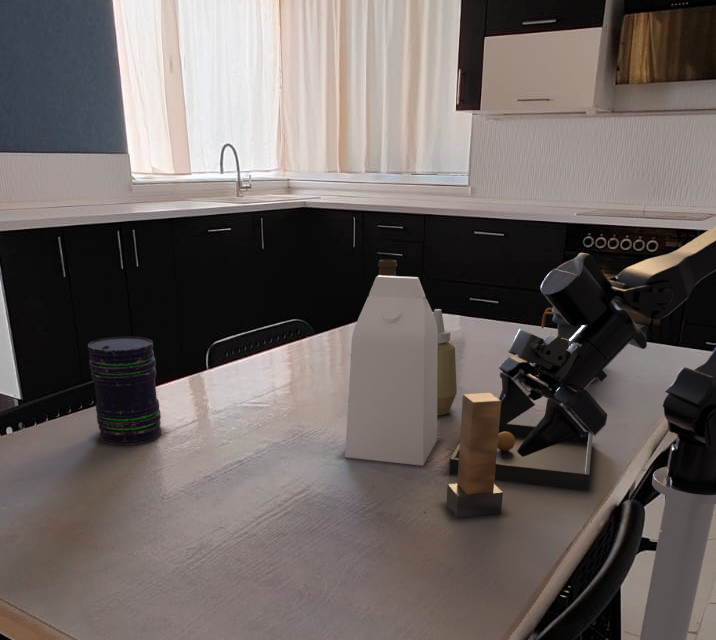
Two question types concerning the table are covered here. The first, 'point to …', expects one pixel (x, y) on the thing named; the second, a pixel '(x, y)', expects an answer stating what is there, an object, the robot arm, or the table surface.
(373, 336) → the milk
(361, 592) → the table surface
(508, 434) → the tan round ball
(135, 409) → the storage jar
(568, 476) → the pan
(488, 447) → the wooden block on stand
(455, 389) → the squeeze bottle
